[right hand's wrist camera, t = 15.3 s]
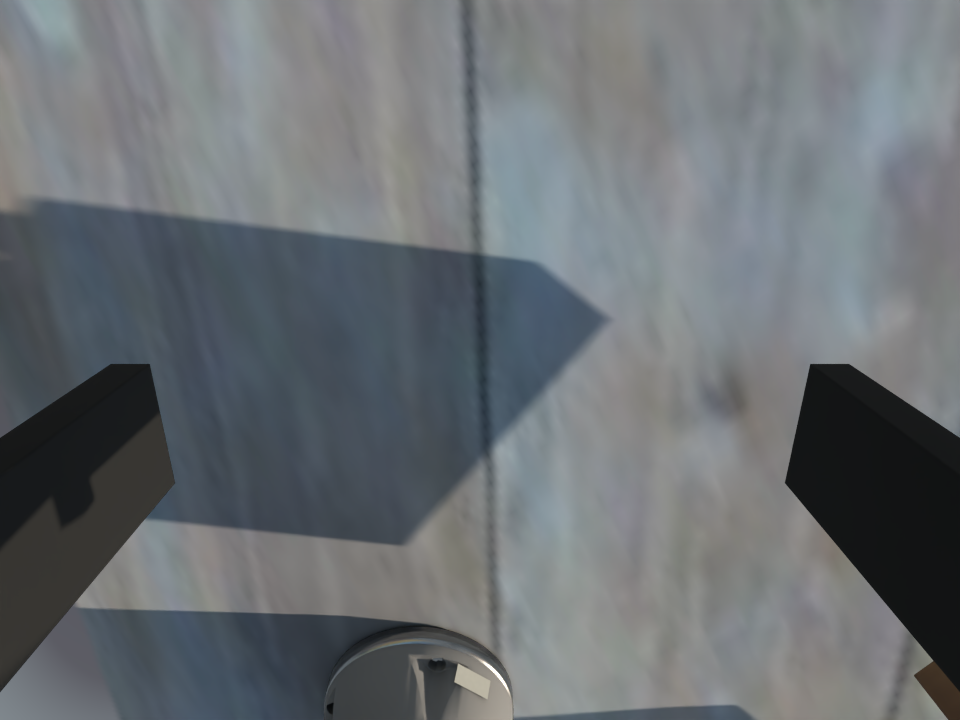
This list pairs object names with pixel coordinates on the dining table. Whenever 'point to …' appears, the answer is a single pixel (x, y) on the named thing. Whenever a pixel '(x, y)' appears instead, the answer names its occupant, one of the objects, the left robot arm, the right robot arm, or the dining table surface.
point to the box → (940, 690)
